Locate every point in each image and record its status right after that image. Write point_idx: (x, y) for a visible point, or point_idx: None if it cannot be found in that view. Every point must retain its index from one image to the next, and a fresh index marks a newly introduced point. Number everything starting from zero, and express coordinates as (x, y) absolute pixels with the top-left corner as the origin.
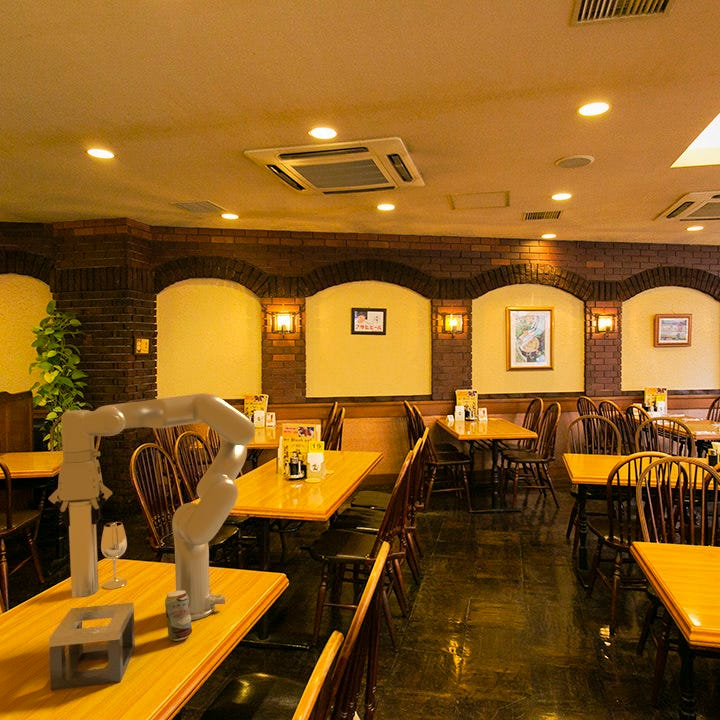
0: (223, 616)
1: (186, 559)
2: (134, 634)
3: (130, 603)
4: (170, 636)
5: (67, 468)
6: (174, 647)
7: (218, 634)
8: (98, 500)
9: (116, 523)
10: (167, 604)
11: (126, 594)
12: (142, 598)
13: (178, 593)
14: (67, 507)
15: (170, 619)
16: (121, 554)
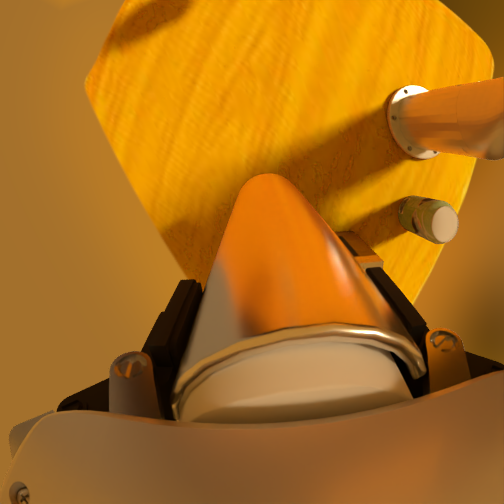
0: (455, 157)
1: (485, 158)
2: (360, 238)
3: (378, 265)
4: (403, 226)
5: None
6: (403, 237)
7: None
8: (456, 381)
9: None
10: (426, 237)
11: (275, 17)
12: (315, 39)
13: (448, 226)
14: (167, 402)
15: (417, 234)
16: None
